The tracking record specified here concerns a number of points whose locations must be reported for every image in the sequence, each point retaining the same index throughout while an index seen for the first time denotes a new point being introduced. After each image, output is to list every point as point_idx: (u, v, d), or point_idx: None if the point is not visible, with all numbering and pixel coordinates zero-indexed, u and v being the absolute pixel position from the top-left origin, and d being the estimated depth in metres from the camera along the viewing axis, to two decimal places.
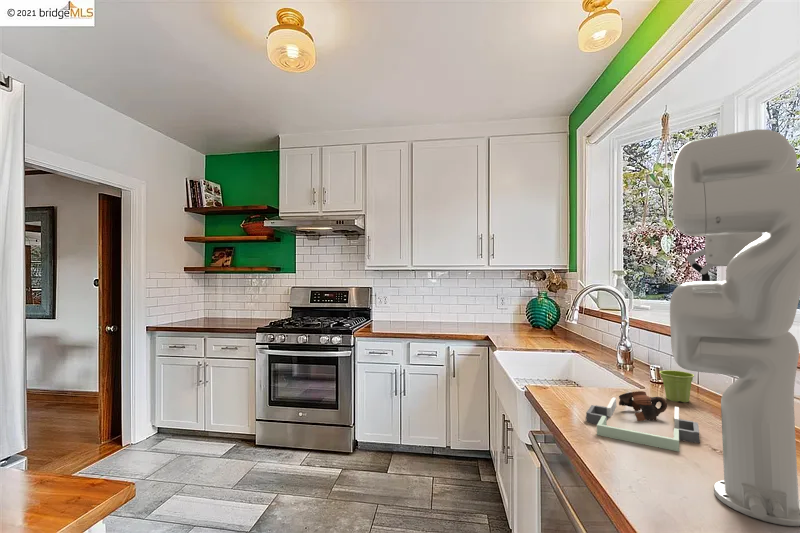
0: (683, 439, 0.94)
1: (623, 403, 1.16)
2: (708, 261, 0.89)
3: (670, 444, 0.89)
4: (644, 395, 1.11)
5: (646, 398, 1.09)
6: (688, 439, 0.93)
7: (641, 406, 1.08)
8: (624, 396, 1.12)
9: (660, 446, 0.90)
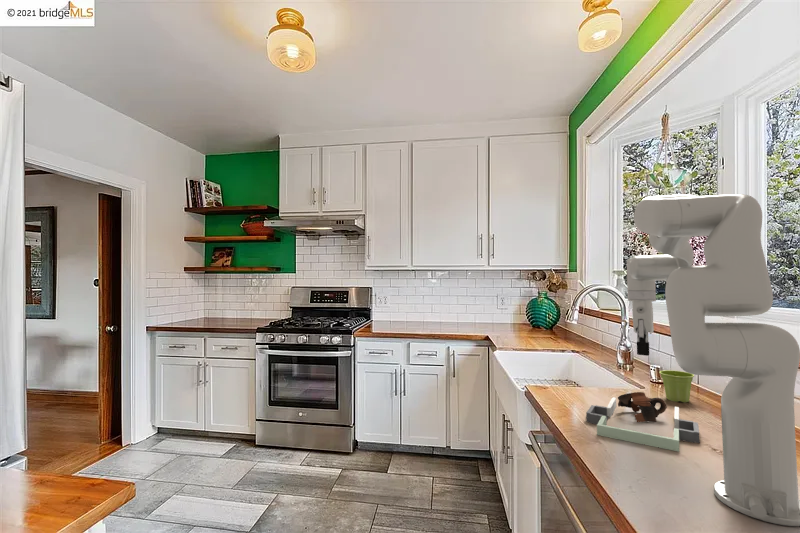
0: (683, 439, 0.94)
1: (622, 404, 1.15)
2: (651, 331, 1.15)
3: (670, 444, 0.89)
4: (643, 396, 1.10)
5: (645, 399, 1.08)
6: (688, 439, 0.93)
7: (640, 407, 1.07)
8: (623, 397, 1.11)
9: (660, 446, 0.90)
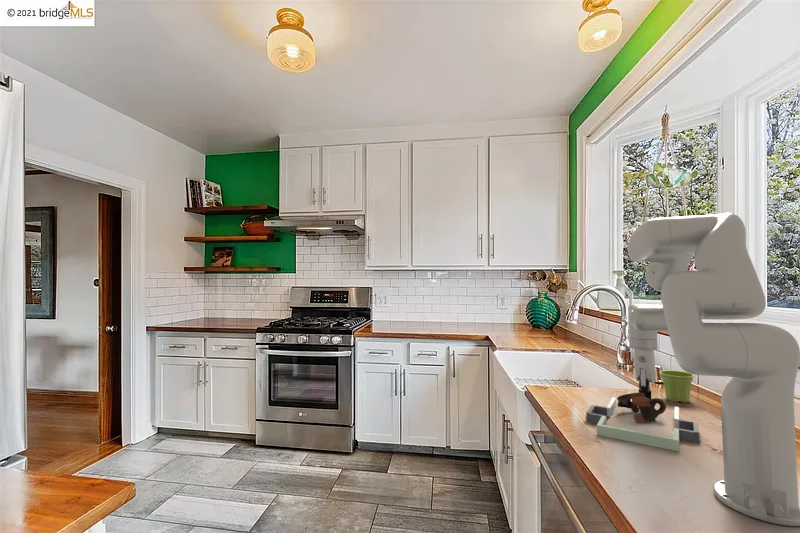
0: (683, 439, 0.94)
1: (621, 405, 1.14)
2: (653, 380, 1.14)
3: (670, 444, 0.89)
4: (643, 396, 1.09)
5: (645, 400, 1.08)
6: (688, 439, 0.93)
7: (640, 408, 1.06)
8: (623, 398, 1.11)
9: (660, 446, 0.90)
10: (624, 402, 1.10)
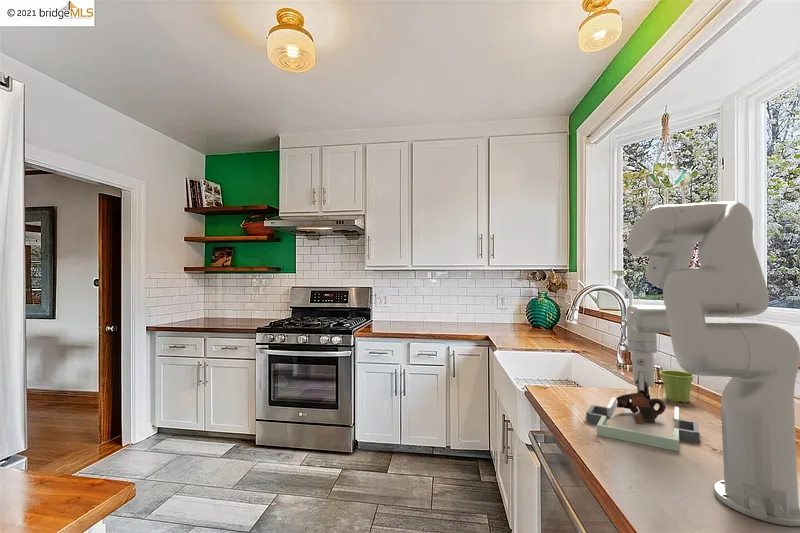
0: (683, 439, 0.94)
1: (620, 405, 1.14)
2: (652, 384, 1.10)
3: (670, 444, 0.89)
4: (642, 397, 1.09)
5: (644, 400, 1.07)
6: (688, 439, 0.93)
7: (640, 408, 1.06)
8: (622, 398, 1.10)
9: (660, 446, 0.90)
10: (623, 402, 1.09)
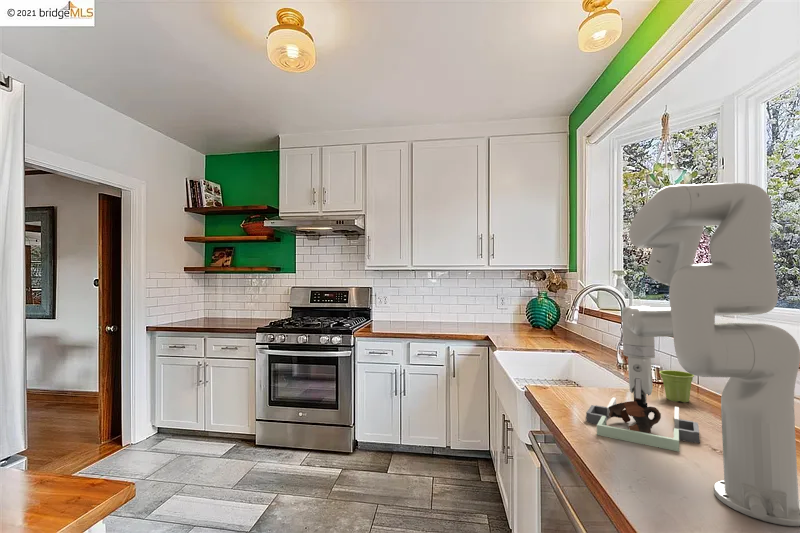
0: (683, 439, 0.94)
1: (612, 414, 1.06)
2: (649, 392, 1.02)
3: (670, 444, 0.89)
4: (636, 405, 1.01)
5: (639, 409, 1.00)
6: (688, 439, 0.93)
7: (635, 418, 0.98)
8: (615, 407, 1.02)
9: (660, 446, 0.90)
10: (618, 412, 1.01)
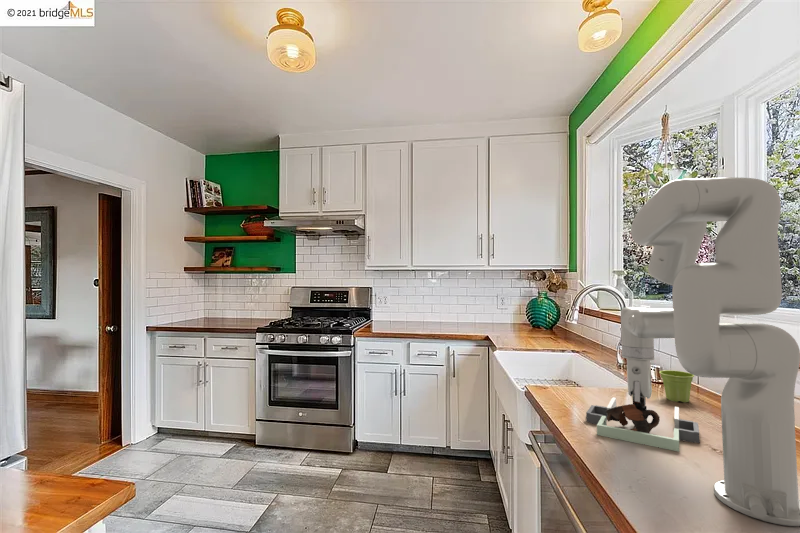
0: (683, 439, 0.94)
1: (610, 418, 1.03)
2: (649, 396, 0.99)
3: (670, 444, 0.89)
4: (635, 409, 0.99)
5: (638, 412, 0.97)
6: (688, 439, 0.93)
7: (634, 422, 0.96)
8: (614, 411, 1.00)
9: (660, 446, 0.90)
10: (616, 416, 0.98)
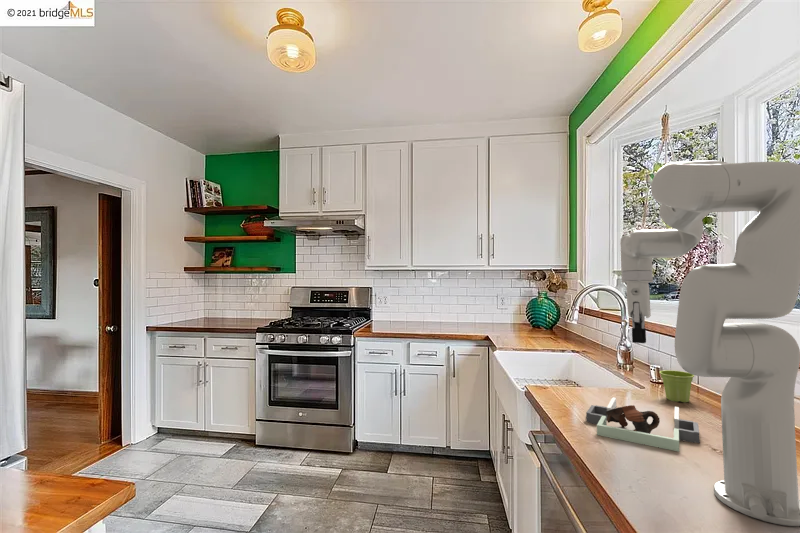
0: (683, 439, 0.94)
1: (610, 419, 1.03)
2: (647, 314, 1.03)
3: (670, 444, 0.89)
4: (635, 410, 0.98)
5: (638, 413, 0.97)
6: (688, 439, 0.93)
7: (634, 423, 0.95)
8: (614, 412, 0.99)
9: (660, 446, 0.90)
10: (616, 417, 0.98)
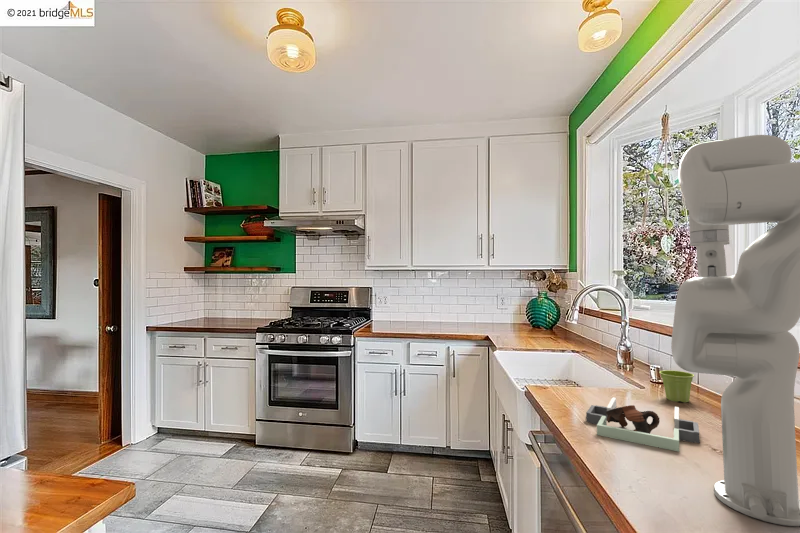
0: (683, 439, 0.94)
1: (610, 419, 1.02)
2: None
3: (670, 444, 0.89)
4: (635, 410, 0.98)
5: (638, 413, 0.97)
6: (688, 439, 0.93)
7: (635, 423, 0.95)
8: (614, 412, 0.99)
9: (660, 446, 0.90)
10: (616, 417, 0.98)
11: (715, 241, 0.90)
